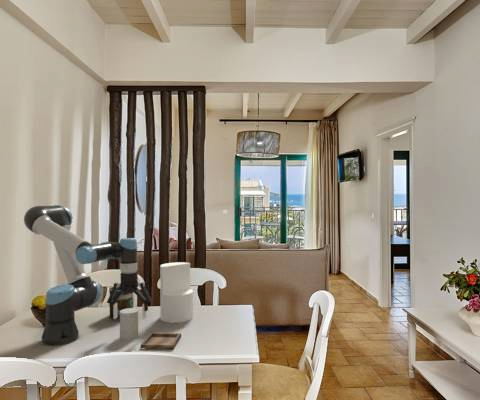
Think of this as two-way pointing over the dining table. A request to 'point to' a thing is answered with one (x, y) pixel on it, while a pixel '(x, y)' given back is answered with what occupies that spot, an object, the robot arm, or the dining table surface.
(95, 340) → the dining table surface
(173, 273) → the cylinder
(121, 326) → the grey upright rounded piece
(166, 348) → the tray
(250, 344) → the dining table surface
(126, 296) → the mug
